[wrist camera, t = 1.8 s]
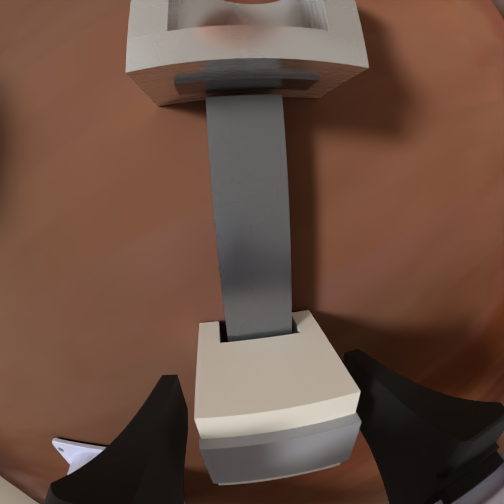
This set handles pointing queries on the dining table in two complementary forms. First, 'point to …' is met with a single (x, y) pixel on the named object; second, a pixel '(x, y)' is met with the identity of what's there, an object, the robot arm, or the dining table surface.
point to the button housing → (242, 48)
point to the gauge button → (252, 1)
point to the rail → (251, 213)
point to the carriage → (273, 404)
